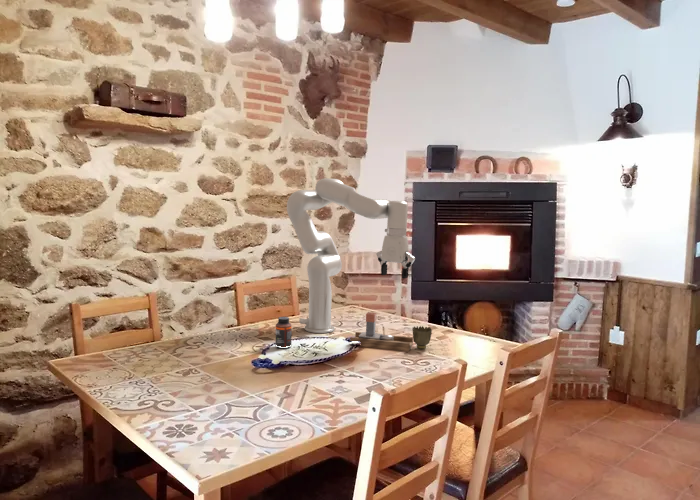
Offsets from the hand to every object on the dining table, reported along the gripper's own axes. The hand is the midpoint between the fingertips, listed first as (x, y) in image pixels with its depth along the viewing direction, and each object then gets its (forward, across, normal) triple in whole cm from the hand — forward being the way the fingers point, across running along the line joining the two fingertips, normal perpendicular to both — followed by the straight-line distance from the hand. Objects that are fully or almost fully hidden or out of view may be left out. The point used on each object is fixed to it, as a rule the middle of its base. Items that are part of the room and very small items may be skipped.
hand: (394, 276), depth 219 cm
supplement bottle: (+27, -25, -34) cm, 51 cm away
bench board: (+26, 0, -6) cm, 27 cm away
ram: (+25, -2, -7) cm, 26 cm away
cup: (+26, +14, 0) cm, 30 cm away
